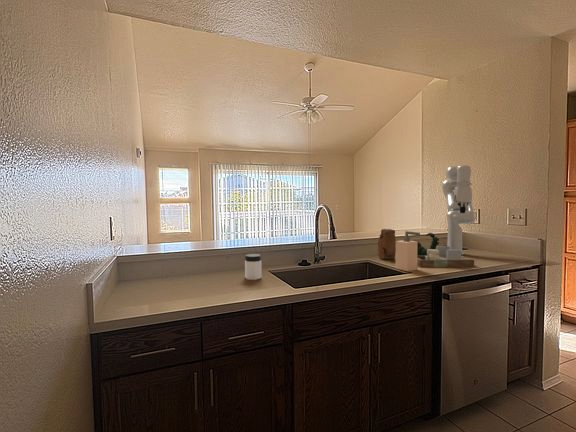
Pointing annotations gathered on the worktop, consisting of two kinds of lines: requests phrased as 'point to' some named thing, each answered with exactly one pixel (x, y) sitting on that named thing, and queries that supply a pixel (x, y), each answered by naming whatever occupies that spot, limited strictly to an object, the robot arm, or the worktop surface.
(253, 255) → the jar
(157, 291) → the worktop surface
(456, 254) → the tunnel walls
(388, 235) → the block
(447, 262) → the walnut deck
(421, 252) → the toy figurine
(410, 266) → the soap dispenser
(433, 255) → the birch cube
